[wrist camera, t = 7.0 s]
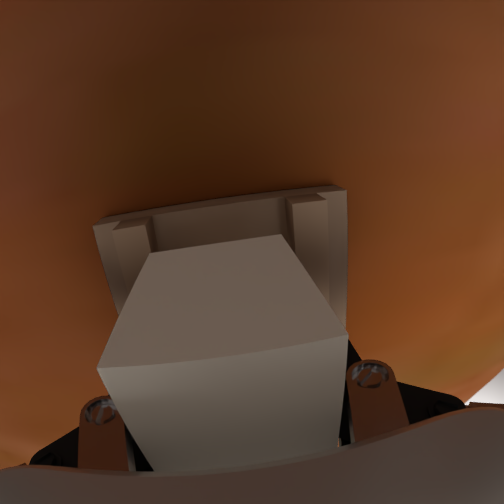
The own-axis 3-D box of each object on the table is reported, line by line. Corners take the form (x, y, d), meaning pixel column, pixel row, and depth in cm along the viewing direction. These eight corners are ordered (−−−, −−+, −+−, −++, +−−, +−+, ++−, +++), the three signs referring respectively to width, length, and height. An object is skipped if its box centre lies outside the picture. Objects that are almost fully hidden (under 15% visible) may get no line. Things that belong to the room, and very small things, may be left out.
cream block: (149, 253, 11) (96, 368, 5) (281, 234, 11) (348, 333, 5) (191, 400, 13) (189, 519, 7) (291, 385, 13) (328, 500, 8)
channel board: (102, 217, 15) (57, 257, 10) (335, 184, 16) (387, 210, 11) (186, 454, 22) (185, 509, 17) (329, 433, 23) (347, 484, 18)
